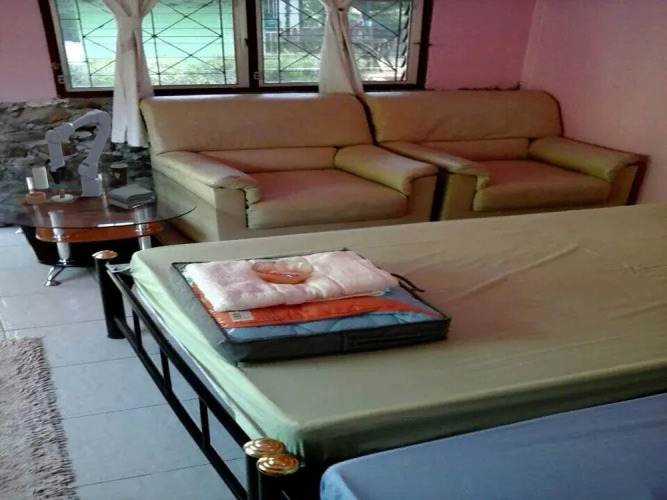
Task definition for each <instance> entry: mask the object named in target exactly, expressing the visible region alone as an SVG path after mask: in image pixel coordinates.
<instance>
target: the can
mask: <svg viewBox="0 0 667 500" xmlns="http://www.w3.org/2000/svg"><path fill="white" fill-rule="evenodd" d="M31 170H32V171H31V172H32V178H33V183H34V184H33V185H34V188H35V189H36V190H47V189H49V183H48V181H49V180H48V176H47V175H48V174H47V170H46V167H45V165H43V164H36V165H33V166H32V169H31Z"/></svg>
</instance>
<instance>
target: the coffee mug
mask: <svg viewBox="0 0 667 500" xmlns="http://www.w3.org/2000/svg"><path fill="white" fill-rule="evenodd" d="M108 169H110V170H111V173H112V174H110V173H109V172H108ZM105 172H106V173H107V175H109V176H110V177H112V178H113V181H114V184H115V185H116V186H123V185H127V184H128V164H125V163H116V164H112V165H110V167H106V168H105Z"/></svg>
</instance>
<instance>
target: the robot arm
mask: <svg viewBox="0 0 667 500" xmlns="http://www.w3.org/2000/svg"><path fill="white" fill-rule="evenodd" d="M111 121H112V118H111V115H110V114H109V112H107V111H102V110H99V109H96V108H95V109H92V110H90V111H88V112H86V114H84V115H82V116H80V117H79V118H77V119H75V120H74V121H72V122H62V123H61V124H60V125H59V126H57V127H53V129H49V130H47V131H46V132H45V135H44V138H45V140H46V141H47V145H48V147H47V148H48V152H49V158H50V163H48V166H49V167H50V169H49V170H48V173H49V175H50V176H51V177H52V178H51V179H52V181H53V182H54V184H55V185H61V181H65V180H66V175H67V169H68V167H69V166H68V165H67V164H65V163H66V162H65V160H64V155H63V154H64V153H63V147H62V143H61V142H62V141H63V139H65V138H67V137H69V136H70V135H72V134H74V133H75V132H76V129H78V128H81V127H83V126H85V125H87V124H89V123H93V124H95V125H96V127H97V129H98V131H97V134H96V136H95V138H94V140H93V142H92V145H91V148H90V150H89V152H88V155H87V157H86V158H85V159H83V160H82V163H80V164H79V165H78V167H77V174H79V175H80V182H81V188H82V189H81V190H82V194H80V197H100V196H101V195H102V194H103V193H104V191H103V182H102V179H101V178H100V177H97V176H98V170H99V164H98V162H99V159H100V157H101V155H102V152H103V150H104V147H105V146H106V143H107V142H108V138H109V136H110V134H111V132H112V127H111V124H112V123H111Z"/></svg>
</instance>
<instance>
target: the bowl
mask: <svg viewBox="0 0 667 500" xmlns="http://www.w3.org/2000/svg"><path fill="white" fill-rule="evenodd" d="M25 198H26V201H27V204H28V205H40V204H46V202H47V195H46V192H42V191H37V192H30V193H27V194H26V195H25Z"/></svg>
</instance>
